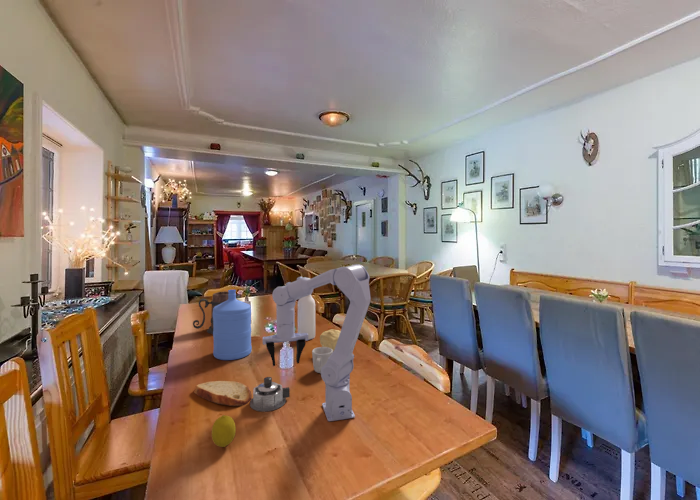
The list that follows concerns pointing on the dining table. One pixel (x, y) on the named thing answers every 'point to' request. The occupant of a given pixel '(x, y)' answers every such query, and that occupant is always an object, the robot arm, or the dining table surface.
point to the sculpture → (329, 338)
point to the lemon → (223, 431)
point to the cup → (320, 357)
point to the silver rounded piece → (268, 387)
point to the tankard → (216, 300)
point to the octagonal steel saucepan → (270, 397)
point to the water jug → (232, 329)
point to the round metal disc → (266, 408)
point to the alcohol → (306, 316)
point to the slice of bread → (224, 392)
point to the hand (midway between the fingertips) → (285, 363)
